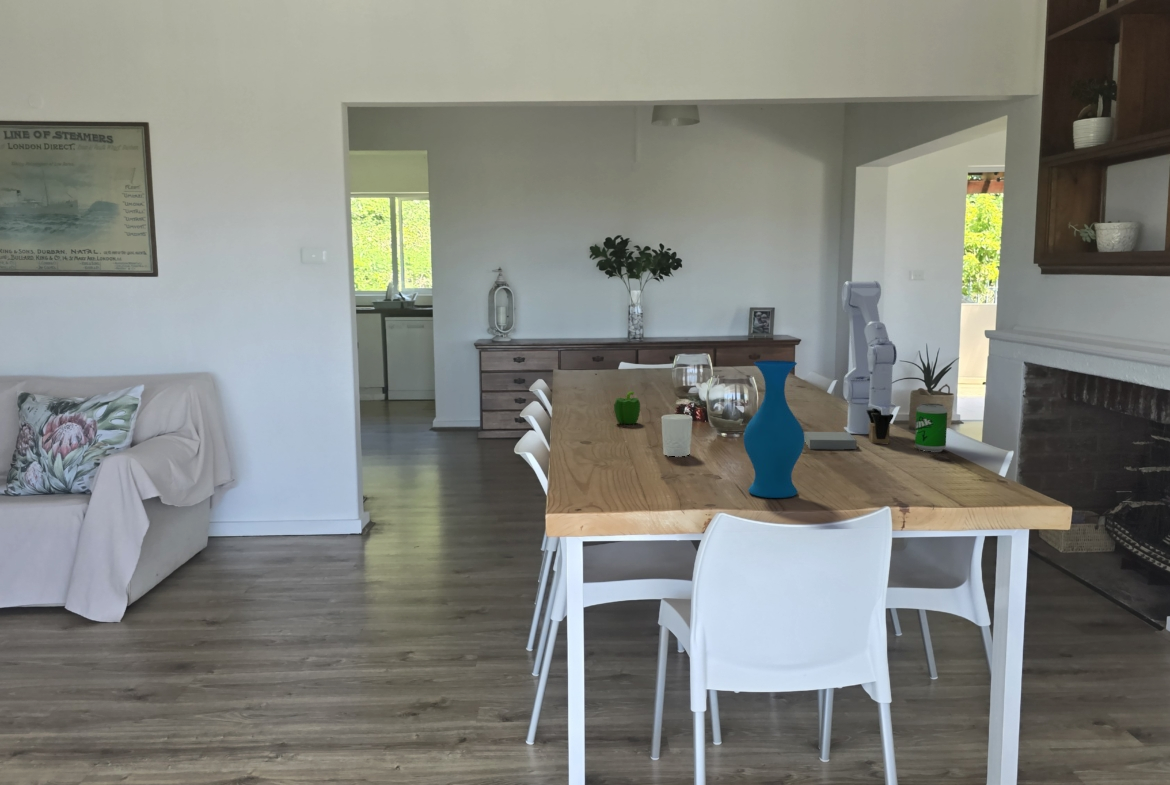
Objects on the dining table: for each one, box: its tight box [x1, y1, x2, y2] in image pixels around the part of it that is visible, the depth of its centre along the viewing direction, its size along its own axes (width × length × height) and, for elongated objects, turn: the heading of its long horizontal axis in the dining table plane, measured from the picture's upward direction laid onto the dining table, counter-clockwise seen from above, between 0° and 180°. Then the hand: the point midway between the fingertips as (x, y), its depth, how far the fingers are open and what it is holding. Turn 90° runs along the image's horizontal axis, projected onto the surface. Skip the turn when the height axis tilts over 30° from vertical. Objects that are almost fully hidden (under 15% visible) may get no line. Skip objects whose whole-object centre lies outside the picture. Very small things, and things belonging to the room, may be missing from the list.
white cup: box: [661, 413, 693, 458], centre depth 225 cm, size 8×8×10 cm
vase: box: [743, 360, 805, 499], centre depth 183 cm, size 12×13×28 cm
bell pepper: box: [613, 391, 641, 425], centre depth 274 cm, size 8×8×10 cm
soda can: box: [914, 402, 948, 453], centre depth 228 cm, size 8×8×12 cm
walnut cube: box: [868, 423, 891, 444], centre depth 240 cm, size 4×4×5 cm
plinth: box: [803, 431, 858, 450], centre depth 237 cm, size 12×12×2 cm
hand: (878, 437), depth 240 cm, fingers closed on walnut cube, 4 cm apart
